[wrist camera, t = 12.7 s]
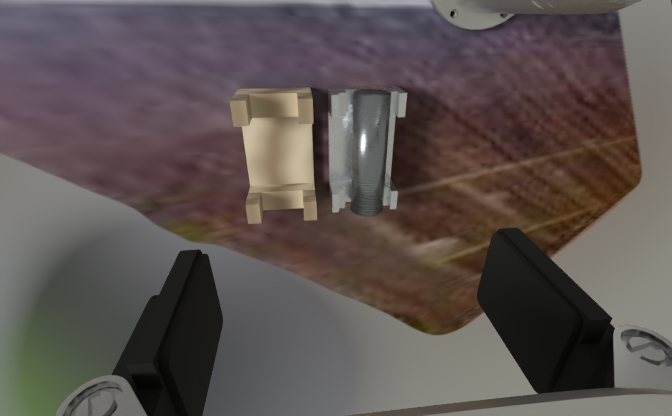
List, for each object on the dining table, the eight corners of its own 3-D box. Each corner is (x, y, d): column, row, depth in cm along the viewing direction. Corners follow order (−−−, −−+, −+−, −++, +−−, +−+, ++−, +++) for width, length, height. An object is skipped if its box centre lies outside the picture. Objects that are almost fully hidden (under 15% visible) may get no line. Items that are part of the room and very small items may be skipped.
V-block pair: (396, 85, 40) (407, 93, 36) (387, 192, 47) (396, 208, 43) (327, 86, 39) (331, 95, 36) (329, 195, 46) (332, 212, 43)
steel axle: (382, 88, 39) (397, 95, 35) (376, 199, 45) (387, 213, 42) (348, 90, 38) (360, 97, 34) (346, 202, 45) (356, 218, 41)
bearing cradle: (310, 87, 39) (312, 98, 34) (314, 196, 46) (316, 219, 41) (238, 88, 39) (229, 101, 33) (253, 199, 46) (248, 223, 40)
